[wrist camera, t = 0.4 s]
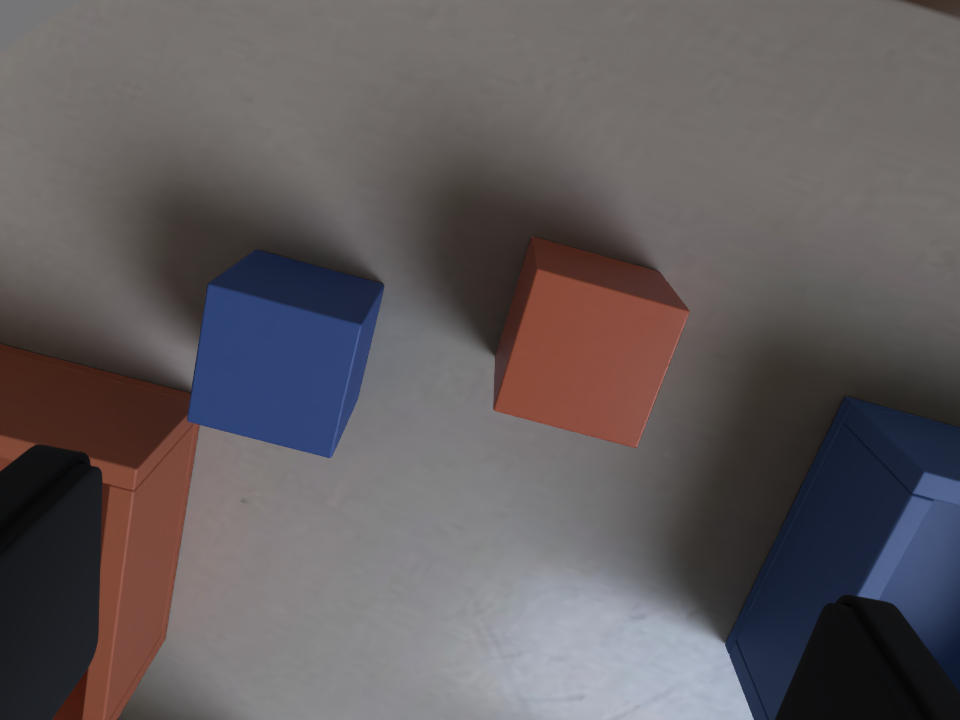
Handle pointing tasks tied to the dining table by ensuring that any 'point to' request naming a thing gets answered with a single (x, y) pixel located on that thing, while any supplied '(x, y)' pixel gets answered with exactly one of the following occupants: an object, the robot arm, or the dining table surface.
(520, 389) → the terracotta block
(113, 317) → the dining table surface
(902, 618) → the robot arm
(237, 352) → the blue block
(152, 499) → the terracotta bin
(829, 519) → the blue bin
